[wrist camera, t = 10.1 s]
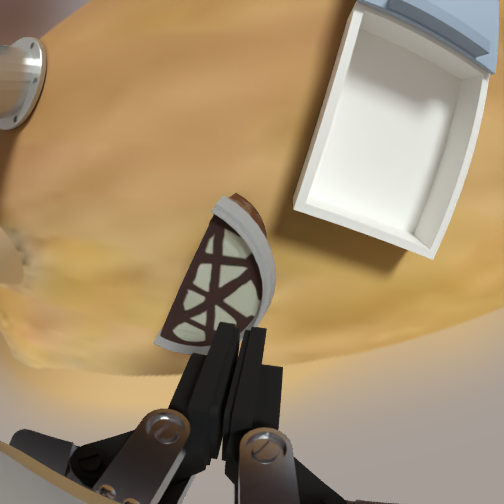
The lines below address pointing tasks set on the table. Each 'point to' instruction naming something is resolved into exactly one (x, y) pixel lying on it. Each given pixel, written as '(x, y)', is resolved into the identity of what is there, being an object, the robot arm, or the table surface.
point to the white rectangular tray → (393, 133)
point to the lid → (453, 24)
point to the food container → (222, 280)
